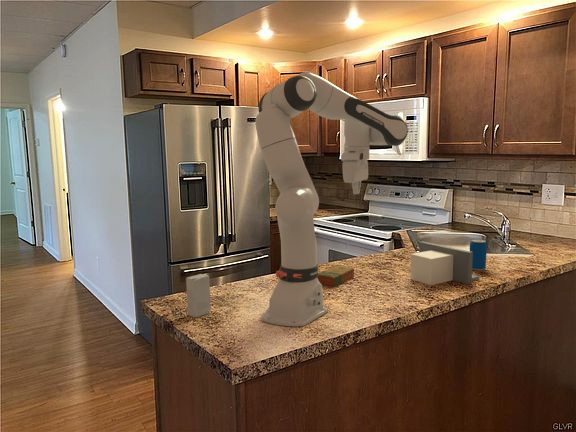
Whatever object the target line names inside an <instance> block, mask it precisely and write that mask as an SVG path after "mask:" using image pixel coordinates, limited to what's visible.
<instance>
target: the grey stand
mask: <svg viewBox="0 0 576 432" xmlns="http://www.w3.org/2000/svg"><path fill="white" fill-rule="evenodd" d="M418 243H419V246H418V251H419V252H418V253H420V252H425V251H431V250H434V251H439V252H443V253H447V254H452V255H453V280H452V281H455V282H456V283H457V282H458V283H461V284H465V285H471V284H472V282H474V281H478V280H480V275H477V274H476V275H475V274H473V270H472V260H473V252H471V251H470V250H465V249H462V248H461V249H460V248H456V247H452V246H445V245H441V244H437V243H432V242H427V241H419V242H418Z"/></svg>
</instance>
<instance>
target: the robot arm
mask: <svg viewBox="0 0 576 432" xmlns="http://www.w3.org/2000/svg"><path fill="white" fill-rule="evenodd" d="M257 106H258V108H257V109H258V114H257V115H256V117H255V120H254V122H255V130H256V135H257V140H258V144H259V146H260V147H259V148H260V150H261V153H262V157H263V158H264V162H265V165H266V167H267V168H266V169H267V171H268V174H269V176H270V177H271V178H272V180H273V182H274V183H275V185H276V187H277V190H278V192H279V195H278V197H277V199H276V202H275V206H274V207H275V208H274V209H275V214H276V217H277V225H278V231H279V236H280V248H281V249H280V254H281V255H280V256H281V257H280V258H281V259H280V260H281V261H280V263H281V264H280V267H279V270H276V272H275V276H276V278H278V281H277V283H276V285H275V287H274V289H273V291H272V294H271V295H270V297H269V305H268V308H267V309H266V310H265V311H264V313H263V314H262V316H261V318H260V319H261V321H263V322H265V323H268V324H271V325H277V326H283V327H284V326H285V327H304V326H306V325H308V324H309V323H311V322H314V320H316V319H318V318H320V317H321V316H324V315H326V313H328V312H329V309H328V307H327V306H324V291H323V285H321V283H320V282H319V280H318V278H317V277H318V273H319V266H318V264H317V263H318V262H317V261H318V260H317V252H318V251H317V238H316V231H315V221H314V214H316V212H317V211H318V210H319V206H320V205H319V204H320V198H319V195H318V192H317V190H316V188H315V185H314V182H313V179H312V178H311V175H310V174H309V171H308V169H307V167H306V164H305V162H304V160H303V158H302V154H301V151H300V147H299V144H298V142H297V138H296V135H295V133H294V130H293V128H292V126H291V120H292V118H293V119H294V118H295V117H297V116H298V115H300V114H301V113H303V112H305V111H308V110H309V111H310V112H312V113H313V114H315V115H317V116H319V117H322V118H324V119H328V120H330V121H331V120H332V121H333V120H335V121H337V120H338V121H339V120H340V121H341V120H343V121H344V124H343V125H344V127H343V128H344V129H343V134H344V140H345V141H344V145H343V152H342V153H341V154H340V160H341V162H342V178H343V182H344V183H345V184H351V189H352V194H353V195H359V194H361V186H362V181H366V180H368V178H369V162H368V161H369V160H370V146H391V147H392V146H393V147H398V146H400V145H402V144H403V142H404V141H405V140H406V139H407V136H408V132H409V128H408V124H407V122H406V120H405V119H404V118H403V117H402V116H401V115H390V114H389V113H386V112H384V111H382V110H380V109H379V108H377V107H375V106H373V105H371V104H369V103H367V102H365V101H363V100H361V99H359V98H357V97H356V96H354V95H352V94H350V93H348V92H346V91H344V90H343V89H341V88H340V87H338V86H336V85H335V84H333V83H332V82H330V81H328V80H327V79H325V78H324V77H321V76H319V75H317V74H315V73H312V72H309V71H304V72H301V73H299V74H298V75H294V76H291V77H289V78H288V79H287V80H284V81H283V82H280V83H278V84H276V85H275V86H273V87H271V89H270V90H269V91H267V92H265V93H264V94H263V95H262V96H261V98H260V100H259V101H258V105H257Z"/></svg>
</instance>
